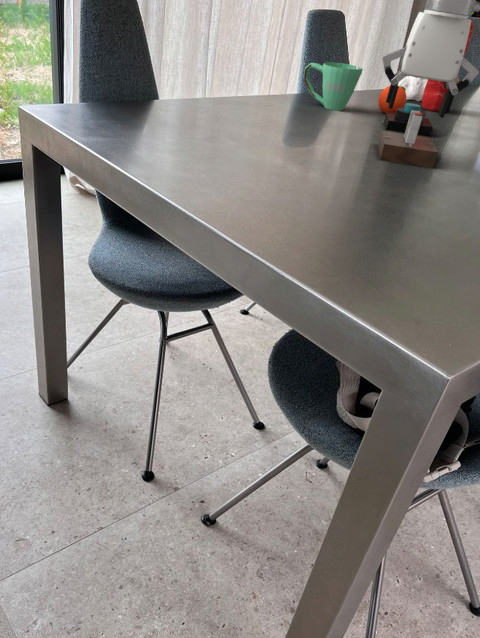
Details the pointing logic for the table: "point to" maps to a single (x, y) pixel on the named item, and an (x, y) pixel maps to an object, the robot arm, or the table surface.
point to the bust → (413, 87)
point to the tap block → (407, 150)
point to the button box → (406, 122)
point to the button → (411, 107)
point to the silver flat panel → (412, 127)
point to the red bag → (439, 85)
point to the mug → (334, 83)
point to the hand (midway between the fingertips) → (415, 111)
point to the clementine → (398, 102)
